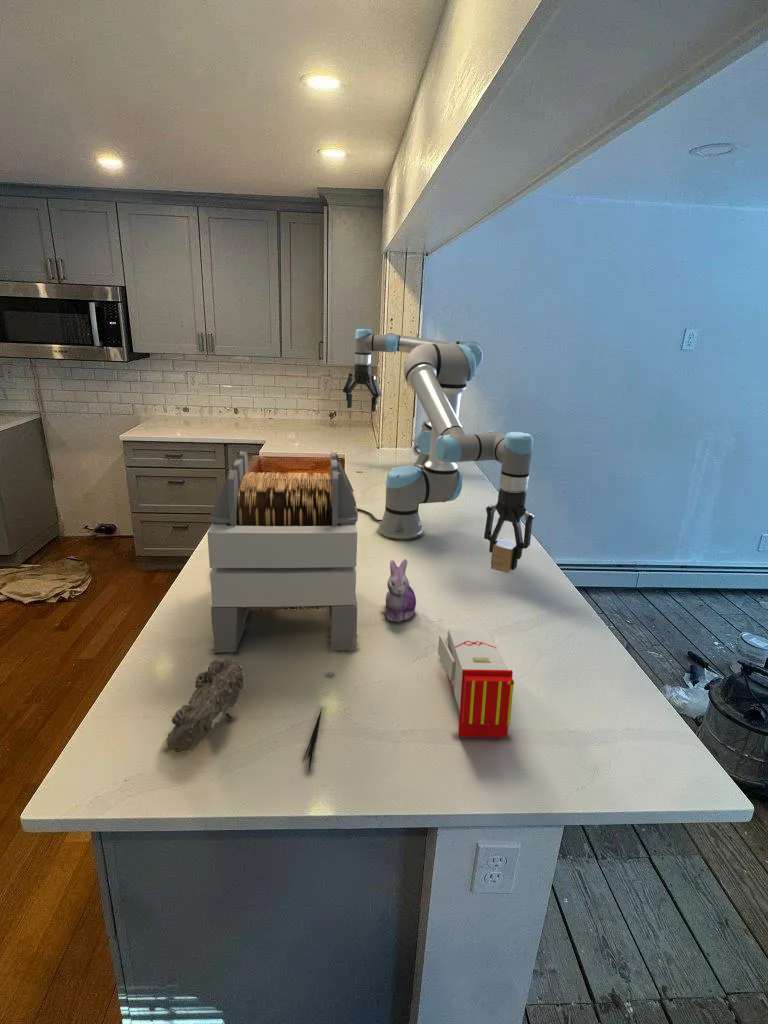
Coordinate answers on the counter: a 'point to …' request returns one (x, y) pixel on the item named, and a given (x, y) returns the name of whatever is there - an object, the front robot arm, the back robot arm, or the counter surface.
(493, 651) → the toy
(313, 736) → the feather
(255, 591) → the record storage crate
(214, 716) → the fossil
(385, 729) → the counter surface
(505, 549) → the brown block
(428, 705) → the counter surface
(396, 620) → the figurine
